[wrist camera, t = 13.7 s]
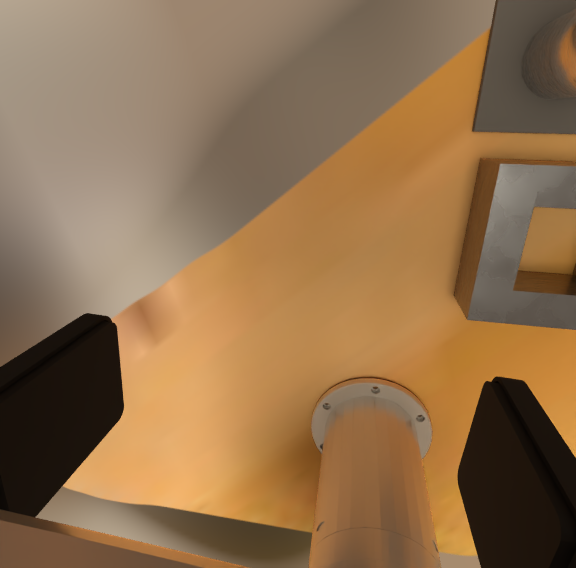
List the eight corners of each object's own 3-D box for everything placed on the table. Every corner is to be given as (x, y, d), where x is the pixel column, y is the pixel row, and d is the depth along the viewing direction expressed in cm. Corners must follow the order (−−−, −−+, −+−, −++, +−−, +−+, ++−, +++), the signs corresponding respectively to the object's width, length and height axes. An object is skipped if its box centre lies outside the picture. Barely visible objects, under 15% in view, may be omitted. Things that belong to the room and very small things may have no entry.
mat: (612, 134, 30) (617, 135, 29) (472, 131, 31) (474, 131, 31) (662, -28, 26) (668, -32, 26) (500, -23, 28) (503, -26, 27)
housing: (598, 307, 35) (634, 335, 30) (453, 295, 36) (467, 319, 32) (647, 164, 30) (699, 170, 26) (480, 158, 32) (500, 163, 27)
